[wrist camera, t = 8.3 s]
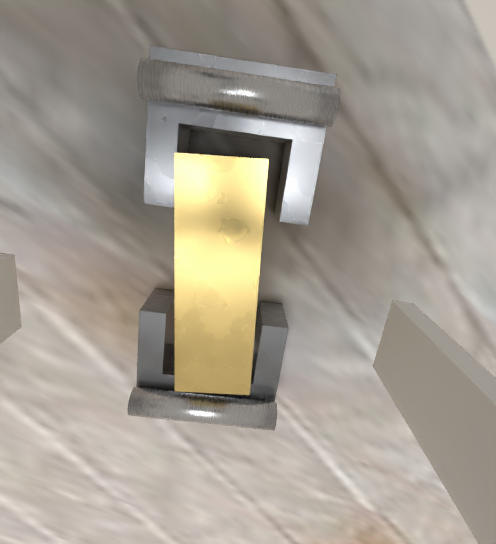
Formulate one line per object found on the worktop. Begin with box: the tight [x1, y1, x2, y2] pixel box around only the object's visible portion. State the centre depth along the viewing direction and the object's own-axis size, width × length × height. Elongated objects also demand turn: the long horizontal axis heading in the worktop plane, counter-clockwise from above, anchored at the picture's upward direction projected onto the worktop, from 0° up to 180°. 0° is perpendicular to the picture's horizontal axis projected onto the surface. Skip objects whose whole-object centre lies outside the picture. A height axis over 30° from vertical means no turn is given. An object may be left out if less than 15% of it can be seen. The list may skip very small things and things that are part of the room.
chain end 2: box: [128, 288, 288, 431], centre depth 21 cm, size 7×8×5 cm
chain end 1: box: [138, 46, 340, 225], centre depth 17 cm, size 7×8×5 cm
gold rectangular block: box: [174, 153, 269, 395], centre depth 19 cm, size 12×4×6 cm, turn 176°
